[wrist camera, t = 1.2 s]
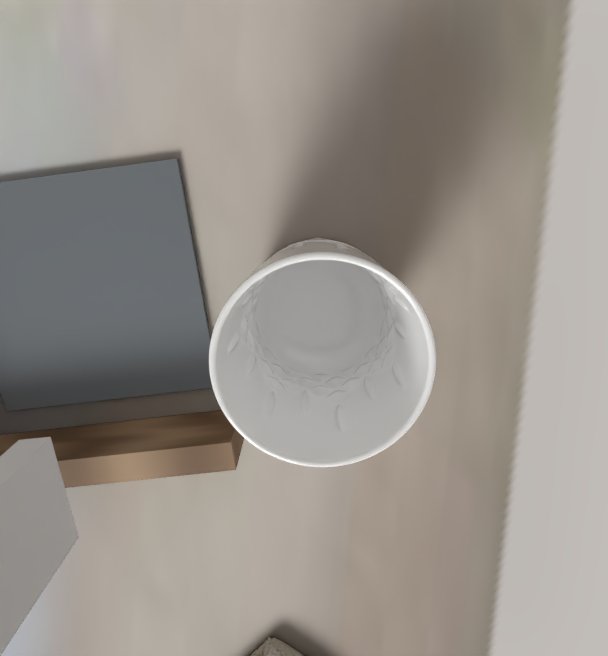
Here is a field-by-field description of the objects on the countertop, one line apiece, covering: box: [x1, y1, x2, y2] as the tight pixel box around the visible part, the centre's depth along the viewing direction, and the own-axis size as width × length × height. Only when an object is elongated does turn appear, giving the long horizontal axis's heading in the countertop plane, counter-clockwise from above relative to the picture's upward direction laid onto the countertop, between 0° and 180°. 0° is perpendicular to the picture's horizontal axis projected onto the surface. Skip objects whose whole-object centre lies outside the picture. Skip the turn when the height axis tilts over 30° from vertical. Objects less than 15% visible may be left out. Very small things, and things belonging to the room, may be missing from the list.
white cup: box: [209, 237, 436, 467], centre depth 23 cm, size 8×8×10 cm
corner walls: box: [0, 410, 244, 488], centre depth 27 cm, size 16×14×4 cm
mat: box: [0, 158, 213, 411], centre depth 28 cm, size 12×12×1 cm
